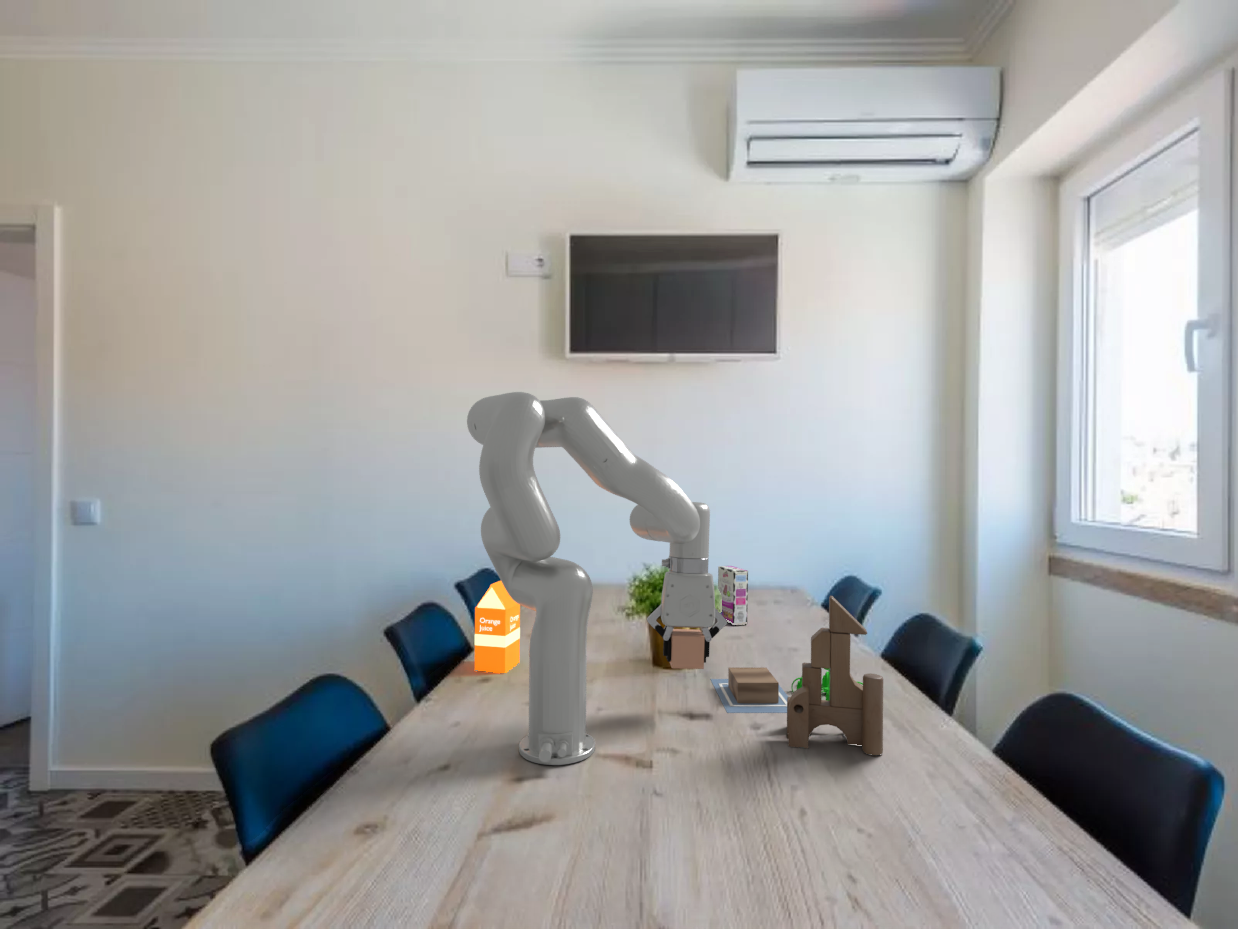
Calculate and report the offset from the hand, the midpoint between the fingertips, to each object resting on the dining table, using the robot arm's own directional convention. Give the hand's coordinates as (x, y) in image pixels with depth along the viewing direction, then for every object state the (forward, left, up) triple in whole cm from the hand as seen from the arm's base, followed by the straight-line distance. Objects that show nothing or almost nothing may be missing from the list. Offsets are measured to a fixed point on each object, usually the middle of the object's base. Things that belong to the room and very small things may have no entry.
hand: (685, 659), depth 130 cm
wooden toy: (-15, -24, -11) cm, 30 cm away
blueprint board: (+7, -15, -10) cm, 19 cm away
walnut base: (+7, -15, -9) cm, 19 cm away
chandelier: (+8, -30, -11) cm, 33 cm away
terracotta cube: (0, 0, -1) cm, 1 cm away
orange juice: (+29, +40, -11) cm, 51 cm away
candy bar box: (+75, -24, -10) cm, 80 cm away
